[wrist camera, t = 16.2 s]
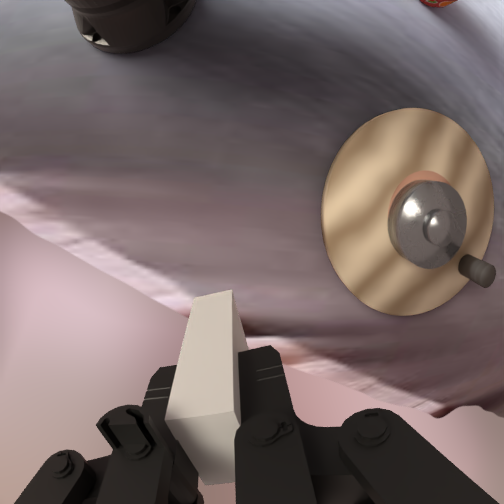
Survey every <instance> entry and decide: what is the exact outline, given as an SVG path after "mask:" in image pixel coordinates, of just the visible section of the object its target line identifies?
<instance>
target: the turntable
mask: <svg viewBox="0 0 504 504" xmlns="http://www.w3.org/2000/svg"><path fill="white" fill-rule="evenodd" d="M416 180H432V181H439V182H444V183H447V184H449V185H450V186H452V187H453V188H454V189H455V190H456V191H457V192H458V193H459V195H460V196H461V198H462V200H463V202H464V205H465V209H466V215H467V227H466V233H465V237H464V240H463V243H462V245H461V247H460V249H459V250H458V252H457V253H456V255H455V256H454V257H453V258H452V259H451V260H450V261H449V262H448V263H446V264H444V265H443V266H441V267H438V268H435V269H424V268H421V267H418V266H417V265H415V264H413V263H412V262H410V261H408V260H407V259H405V258H403V257H402V256H401V255H399V254H398V253H397V251H396V250H395V249H394V247H393V246H392V243H391V241H390V238H389V234H388V214H389V210H390V207H391V204H392V202H393V200H394V198H395V196H396V195H397V194H398V192H399V191H400V190H401V189H402V188H403V187H404V186H406V185H407V184H408V183H410V182H412V181H416ZM493 216H494V196H493V188H492V182H491V178H490V174H489V171H488V168H487V165H486V162H485V160H484V158H483V156H482V154H481V152H480V150H479V148H478V147H477V145H476V144H475V142H474V141H473V140H472V138H471V137H470V136H469V135H468V133H467V132H466V131H465V130H464V129H463V128H461V127H460V126H459V125H458V124H457V123H455V122H454V121H453V120H451V119H450V118H448V117H446V116H444V115H442V114H440V113H438V112H434V111H431V110H428V109H421V108H404V109H399V110H394V111H391V112H387V113H384V114H382V115H379V116H377V117H374V118H373V119H371V120H369V121H368V122H366V123H364V124H363V125H362V126H361V127H359V128H358V129H357V130H356V131H355V132H353V134H352V135H351V136H350V137H349V138H348V139H347V140H346V141H345V143H344V144H343V146H342V147H341V149H340V150H339V152H338V153H337V155H336V157H335V159H334V161H333V163H332V165H331V167H330V170H329V172H328V175H327V178H326V181H325V186H324V190H323V195H322V204H321V228H322V235H323V241H324V245H325V248H326V252H327V255H328V257H329V260H330V262H331V264H332V267H333V268H334V270H335V272H336V273H337V275H338V277H339V278H340V279H341V281H342V282H343V283H344V284H345V286H346V287H347V288H348V289H349V290H350V291H351V292H352V293H353V294H354V295H355V296H356V297H357V298H358V299H359V300H360V301H362V302H363V303H365V304H366V305H368V306H369V307H371V308H373V309H375V310H377V311H379V312H383V313H386V314H390V315H399V316H406V315H415V314H420V313H424V312H427V311H430V310H432V309H434V308H436V307H438V306H440V305H442V304H444V303H445V302H447V301H448V300H450V299H451V298H452V297H453V296H454V295H456V294H457V293H458V292H459V291H460V290H461V289H462V288H463V287H464V286H465V285H466V284H467V282H468V281H469V280H472V281H473V282H475V283H477V284H478V285H480V286H482V287H484V288H487V287H489V286H490V285H491V284H492V283H493V281H494V279H495V275H496V270H495V267H494V266H493V265H491V264H489V263H486V262H484V261H482V258H483V256H484V254H485V251H486V248H487V246H488V243H489V239H490V235H491V231H492V224H493Z"/></svg>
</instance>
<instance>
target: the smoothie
mask: <svg viewBox="0 0 504 504" xmlns="http://www.w3.org/2000/svg"><path fill="white" fill-rule="evenodd" d="M420 1H421V2H422V3H424V4H426V5H428V6H431V7H444V6H446V5H449V4H451V3H453V2H455V1H457V0H420Z"/></svg>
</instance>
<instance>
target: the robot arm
mask: <svg viewBox="0 0 504 504" xmlns="http://www.w3.org/2000/svg"><path fill="white" fill-rule="evenodd" d="M65 1H66V2H67V3H68V4H69V5H70V6H72V10H73V14H74V18H75V22H76V25H77V28H78V30H79V32H80V34H81V35H82V36H83V37H84V38H85V39H86V40H87V41H88V42H89V43H90V44H92V45H93V46H94V47H96V48H98V49H100V50H102V51H105V52H109V53H131V52H136V51H140V50H143V49H146V48H149V47H151V46H153V45H156V44H158V43H159V42H161V41H163V40H164V39H166V38H167V37H169V36H170V35H172V34H173V33H174V32H175V31H176V30H178V29H179V28H180V27H181V26H182V24H183V23H184V22H185V21H186V20H187V18H188V17H189V15H190V14H191V12H192V10H193V7H194V5H195V1H196V0H65ZM147 390H148V391H147V392H146V395H145V398H144V399H145V400H144V401H143V405H142V407H140V406H138V405H125V406H120V407H117V408H115V409H113V410H111V411H109V412H108V413H106V414H105V415H104V416H103V417H102V418H100V420H99V421H98V423H97V424H96V426H97V428H98V429H99V431H100V432H101V433H102V435H103V436H104V438H105V439H106V440H107V442H108V443H109V444H110V446H111V447H112V448H113V451H112V454H111V455H108V456H105V457H101V458H97V459H93V460H89V461H86V460H85V459H84V458H83V456H82V455H81V454H80V453H78V452H76V451H74V450H63V451H59V452H57V453H55V454H53V455H52V456H51V457H50V458H48V459H47V461H45V463H44V464H43V466H42V467H41V468H40V470H39V471H38V472H37V474H36V475H35V476H34V477H33V479H32V480H31V481H30V483H29V484H28V485H27V487H26V488H25V489H24V491H23V492H22V493H21V495H20V497H19V498H18V499H17V500H16V502H15V503H14V504H204V500H203V496H202V494H201V493H200V492H199V490H198V475H199V477H200V478H201V480H202V481H203V483H204V484H205V485H213V484H223V483H232V482H235V485H236V486H235V488H236V504H499V503H498V502H497V501H496V500H494V499H493V498H492V497H491V496H490V495H488V494H487V493H486V492H485V491H484V490H483V489H482V488H480V487H479V486H478V485H477V484H476V483H474V482H473V481H472V480H471V479H470V478H469V477H468V476H466V475H465V474H464V473H463V472H462V471H461V470H459V469H458V468H457V467H456V466H455V465H454V464H453V463H452V462H451V461H449V460H448V459H447V458H446V457H445V456H444V455H443V454H441V453H440V452H439V451H438V450H437V449H436V448H435V447H434V446H432V445H431V444H430V443H429V442H428V441H427V440H426V439H425V438H423V437H422V436H421V435H420V434H419V433H418V432H417V431H416V430H414V429H413V428H412V427H411V426H410V425H409V424H407V422H406V421H404V420H403V419H402V418H401V417H400V416H399V415H397V414H395V413H393V412H392V411H390V410H386V409H380V408H374V409H365V410H363V411H360V412H357V413H354V414H353V415H352V416H350V417H349V418H347V419H346V420H345V421H344V423H343V424H342V426H341V427H316V426H313V425H309V424H307V423H305V422H303V421H301V420H300V419H299V418H298V417H297V416H296V414H295V412H294V410H293V405H292V401H291V397H290V393H289V390H288V385H287V381H286V377H285V373H284V369H283V365H282V361H281V357H280V353H279V352H278V351H277V350H275V349H274V348H273V347H272V346H271V345H269V346H264V347H260V348H256V349H251V350H248V346H247V342H246V338H245V335H244V331H243V328H242V324H241V321H240V317H239V313H238V310H237V306H236V303H235V299H234V295H233V292H232V290H228V291H223V292H219V293H214V294H210V295H205V296H201V297H196V298H194V301H193V305H192V309H191V312H190V316H189V320H188V324H187V328H186V332H185V336H184V340H183V344H182V348H181V352H180V356H179V360H178V364H177V365H173V366H167V367H160V368H159V370H158V371H157V372H156V373H155V374H154V375H153V376H152V378H151V379H150V383H149V385H148V389H147Z"/></svg>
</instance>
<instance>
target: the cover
mask: <svg viewBox="0 0 504 504" xmlns="http://www.w3.org/2000/svg"><path fill="white" fill-rule="evenodd" d="M466 227H467V215H466V209H465V205H464V202H463V200H462V198H461V196H460V195H459V193H458V192H457V191H456V190H455V189H454V188H453V187H452V186H450V185H449V184H447V183H444V182H439V181H432V180H416V181H412V182H410V183H408V184H407V185H406V186H404V187H403V188H402V189H401V190H400V191H399V192H398V194H397V195H396V196H395V198H394V200H393V202H392V204H391V207H390V210H389V214H388V234H389V238H390V241H391V243H392V246H393V247H394V249H395V250H396V251H397V253H398V254H399V255H401V256H402V257H403V258H405V259H407V260H408V261H410V262H412V263H413V264H415V265H417V266H418V267H421V268H424V269H435V268H438V267H441V266H443V265H444V264H446V263H448V262H449V261H450V260H451V259H452V258H453V257H454V256H455V255H456V253H457V252H458V250H459V249H460V247H461V245H462V243H463V240H464V237H465V233H466Z"/></svg>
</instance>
